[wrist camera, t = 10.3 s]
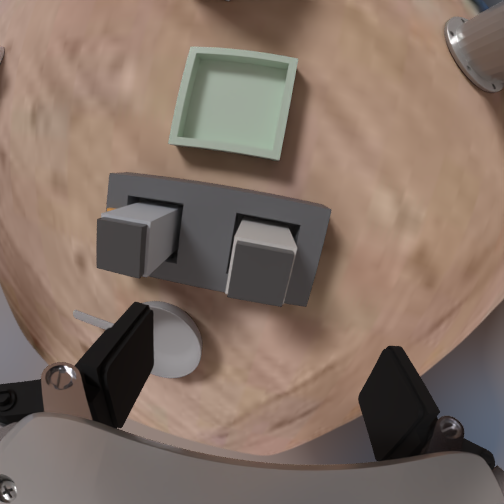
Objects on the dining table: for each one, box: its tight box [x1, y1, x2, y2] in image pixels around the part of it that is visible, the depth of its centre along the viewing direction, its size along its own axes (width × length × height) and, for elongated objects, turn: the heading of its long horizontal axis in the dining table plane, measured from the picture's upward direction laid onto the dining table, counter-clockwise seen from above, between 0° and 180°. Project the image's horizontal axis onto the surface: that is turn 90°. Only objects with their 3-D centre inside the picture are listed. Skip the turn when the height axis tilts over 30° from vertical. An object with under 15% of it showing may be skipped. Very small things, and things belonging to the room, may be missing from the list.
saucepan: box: [73, 301, 202, 378], centre depth 32 cm, size 11×18×4 cm, turn 75°
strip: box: [106, 172, 331, 307], centre depth 27 cm, size 22×10×5 cm, turn 80°
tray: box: [168, 47, 298, 161], centre depth 24 cm, size 11×11×2 cm
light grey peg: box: [97, 200, 183, 278], centre depth 24 cm, size 4×4×10 cm
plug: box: [225, 216, 297, 307], centre depth 24 cm, size 4×4×10 cm
